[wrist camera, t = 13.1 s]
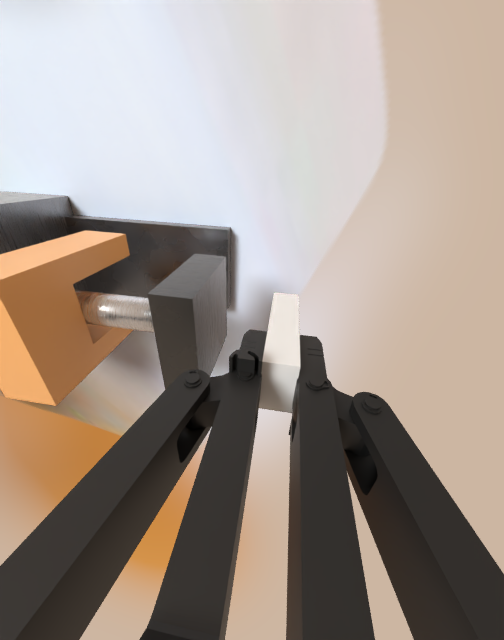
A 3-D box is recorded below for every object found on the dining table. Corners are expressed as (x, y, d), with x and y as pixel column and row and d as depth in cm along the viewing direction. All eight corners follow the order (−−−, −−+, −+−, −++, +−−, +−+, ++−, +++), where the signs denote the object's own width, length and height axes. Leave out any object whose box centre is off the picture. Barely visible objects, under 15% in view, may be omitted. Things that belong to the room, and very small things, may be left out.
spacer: (109, 316, 21) (5, 397, 14) (85, 230, 18) (-75, 275, 10) (143, 320, 21) (56, 405, 13) (125, 233, 17) (-8, 282, 10)
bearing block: (47, 295, 27) (-135, 389, 15) (4, 191, 22) (-320, 216, 10) (230, 316, 25) (175, 442, 13) (230, 207, 20) (141, 261, 8)
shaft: (44, 313, 20) (-40, 361, 15) (10, 236, 17) (-111, 265, 12) (226, 335, 19) (201, 397, 14) (225, 256, 16) (192, 298, 10)
